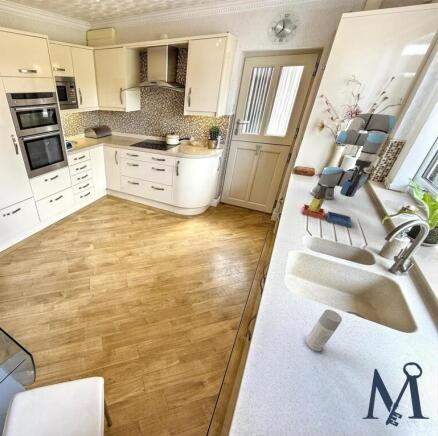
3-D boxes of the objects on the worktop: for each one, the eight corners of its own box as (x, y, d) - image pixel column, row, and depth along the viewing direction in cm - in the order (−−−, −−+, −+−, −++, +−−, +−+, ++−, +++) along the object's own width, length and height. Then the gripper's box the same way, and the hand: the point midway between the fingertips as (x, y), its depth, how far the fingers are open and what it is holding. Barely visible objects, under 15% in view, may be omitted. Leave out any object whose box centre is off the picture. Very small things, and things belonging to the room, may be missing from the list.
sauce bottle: (316, 215, 157) (328, 188, 147) (306, 211, 161) (317, 185, 151) (319, 212, 161) (331, 185, 151) (309, 209, 165) (320, 182, 155)
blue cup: (339, 191, 158) (345, 178, 153) (353, 194, 154) (360, 181, 150) (339, 194, 152) (346, 181, 148) (354, 197, 149) (361, 184, 144)
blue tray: (326, 214, 160) (328, 211, 159) (348, 219, 155) (350, 216, 153) (326, 221, 151) (328, 218, 150) (349, 227, 146) (351, 224, 144)
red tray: (302, 207, 168) (304, 204, 167) (322, 212, 163) (324, 209, 161) (301, 213, 160) (303, 210, 158) (322, 219, 154) (324, 216, 153)
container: (304, 336, 80) (322, 307, 73) (319, 341, 79) (340, 312, 71) (306, 348, 77) (326, 319, 69) (322, 354, 75) (344, 324, 68)
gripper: (355, 155, 151) (339, 188, 162) (358, 162, 136) (340, 197, 147) (370, 157, 147) (352, 190, 159) (375, 164, 132) (355, 200, 144)
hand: (346, 194), depth 153 cm, fingers closed on blue cup, 8 cm apart
